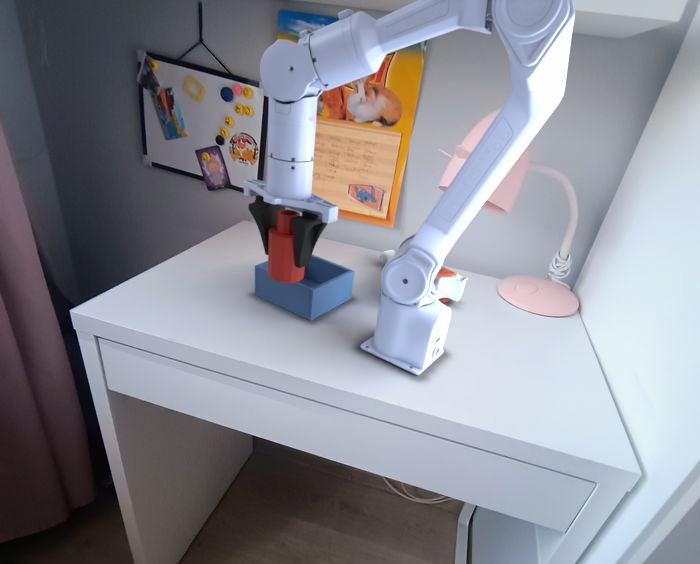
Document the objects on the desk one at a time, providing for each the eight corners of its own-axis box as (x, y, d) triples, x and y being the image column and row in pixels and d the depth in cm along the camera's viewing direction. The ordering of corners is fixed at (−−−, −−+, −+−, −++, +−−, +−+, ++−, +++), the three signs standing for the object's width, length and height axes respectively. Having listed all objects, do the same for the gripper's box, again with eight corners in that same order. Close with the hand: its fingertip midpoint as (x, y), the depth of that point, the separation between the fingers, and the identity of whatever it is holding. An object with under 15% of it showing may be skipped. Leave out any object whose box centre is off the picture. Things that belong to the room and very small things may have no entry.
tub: (351, 298, 79) (354, 270, 76) (310, 321, 71) (313, 290, 68) (297, 276, 84) (299, 249, 81) (254, 294, 76) (254, 265, 73)
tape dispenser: (382, 266, 95) (352, 300, 79) (385, 241, 93) (354, 269, 76) (469, 282, 91) (457, 321, 74) (474, 256, 89) (463, 290, 72)
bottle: (311, 275, 68) (315, 214, 63) (287, 286, 64) (290, 221, 59) (284, 264, 70) (286, 204, 65) (260, 274, 66) (261, 211, 61)
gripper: (225, 147, 59) (228, 250, 66) (316, 174, 52) (309, 284, 60) (264, 143, 64) (263, 239, 71) (352, 167, 58) (341, 269, 65)
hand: (286, 259), depth 66 cm, fingers closed on bottle, 5 cm apart
